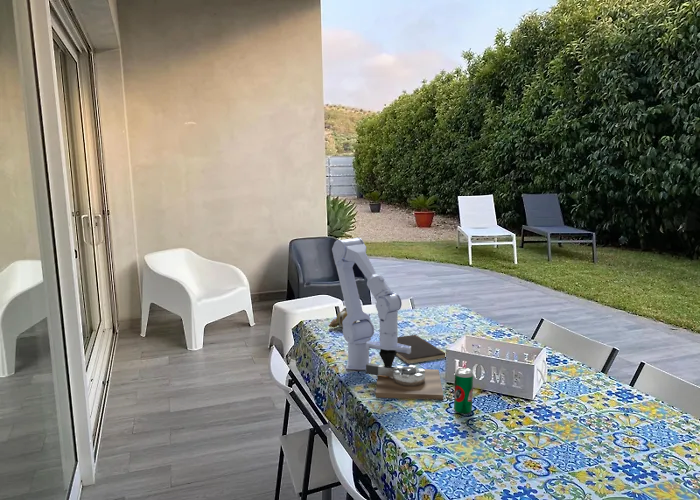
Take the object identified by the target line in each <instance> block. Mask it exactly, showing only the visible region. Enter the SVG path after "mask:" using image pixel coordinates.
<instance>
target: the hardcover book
mask: <svg viewBox="0 0 700 500" xmlns="http://www.w3.org/2000/svg"><path fill="white" fill-rule="evenodd" d="M397 343H399V344H403V345H407V346H411V353H410V354H407V353H404V352H397V354H396V356H397V357H398V358H400V359H401V360H402V361H404V363H407V365H408V364H409V365H411V364H415V363H422V362H429V361H435V359H436V360H440V359H441V358H442V359H446V358H445V353H446V352H445V351H443V350H441V349H440V348H437V347H436V346H434V345H433V344H432V343H430V342H428V341H426V340H424V339H423V338H421V337H420V336H418V335H417V334H411V335H404V336H397Z"/></svg>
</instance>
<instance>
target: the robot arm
mask: <svg viewBox="0 0 700 500" xmlns="http://www.w3.org/2000/svg"><path fill="white" fill-rule="evenodd" d="M331 251H332V255H333V260H334V264H335V267H336V271H337V275H338V279H339V285H340V288H341V293H342V297H343V301H344V305H345V306H344V307H345V308H346V311H347V316H346V318H345V319H344V320H343V322H342V324H343V328H342V335H343V338H344V340H345V341H346V342H347V362H346V367H345V369H346V370H357V371H359V370H360V371H366V364H367V363H372V361H371V360H372V359H371V358H370V349H372V350H373V349H374V350H379V357H380V359H381V360H382V362H383V366H390V367H393V363H394V360H395V359H396V356H397V355H396V354H397V352H404V353H407V354H410V353H411V346H407V345H403V344H399V343H397V337H398V330H399V329H398V320H399V319H398V316H399V315H398V314H399V313H398V311H399V310H401V308H402V306H403V305H402V300H401V299H402V298H401V297H400V295H399V294H398V293H396V292H394V291H393V290H391V288H390V286H389V285H388V283H387V282H386V281H385V277H383V276H382V275H381V274H377V272H376V270H375V268H374V265H373V264H372V262H371V260H370V258H369V257H368V254H367V245H365V241H364V240H363V239H362V238H361V237H354V238H349V239H348V238H347V239H337V240H335V241H334V243H333V245H332V248H331ZM355 264H356V265H357V267H358V269H359V270H360V271H361V272H362V274H363V275H364V277H365V278H366V279H367V282H366V286H367V288H368V290H369V291H370V293H371V294H372V296H373V297H374V299H375V301H376V302H375V308H376V311H377V316H378V319H379V341H372V337H373V336H374V335H375V326H374V324H373V322H372V320H371V318H370V315H369V314H367V313H366V312H364V310H363V307H362V303H361V299H360V294H359V289H358V286H357V282H356V277H355V273H354V272H355V271H354V269H353V268H354V265H355ZM354 321H357V322H356V323H353V322H354Z"/></svg>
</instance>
